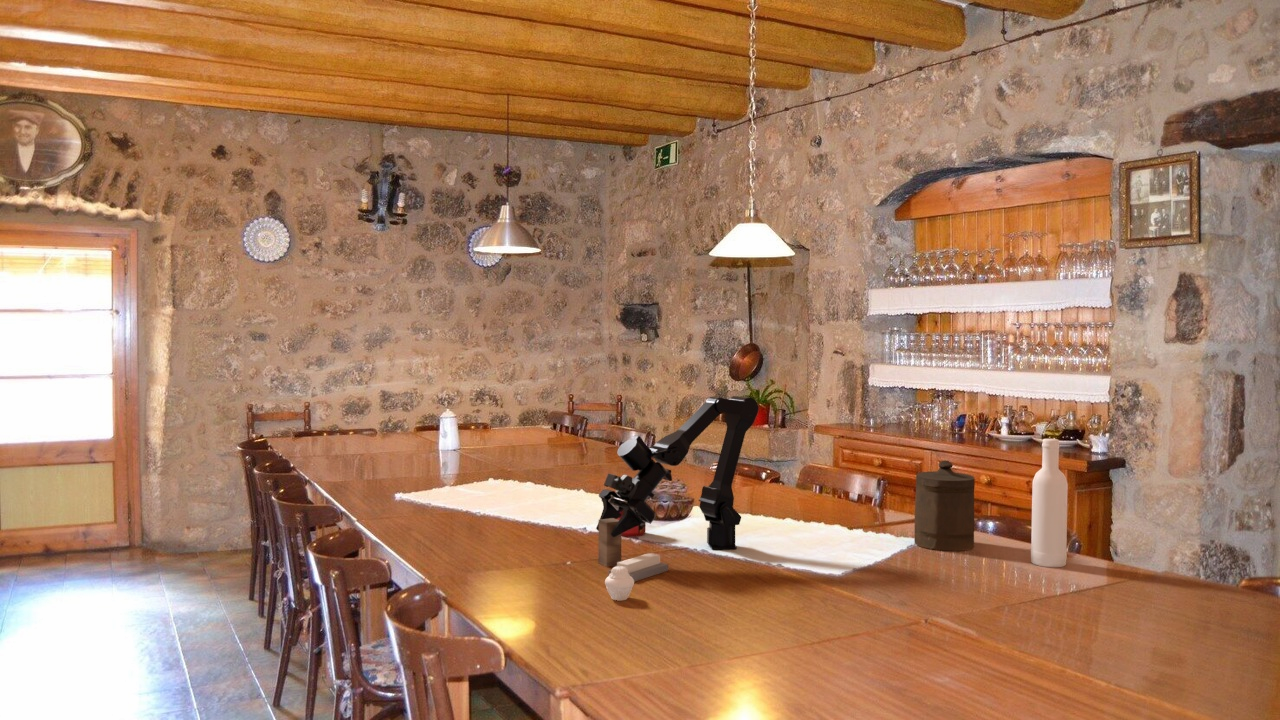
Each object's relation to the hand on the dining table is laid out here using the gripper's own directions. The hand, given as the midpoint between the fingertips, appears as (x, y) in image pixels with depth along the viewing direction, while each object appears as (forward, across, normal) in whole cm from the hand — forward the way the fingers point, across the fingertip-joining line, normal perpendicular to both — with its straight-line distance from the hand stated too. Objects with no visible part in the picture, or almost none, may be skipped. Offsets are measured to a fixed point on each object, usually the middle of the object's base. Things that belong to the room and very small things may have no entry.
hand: (604, 532), depth 228 cm
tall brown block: (+4, 0, +6) cm, 8 cm away
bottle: (-60, +53, +71) cm, 107 cm away
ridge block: (+3, +11, +7) cm, 14 cm away
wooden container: (-55, +27, +66) cm, 90 cm away
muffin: (+13, +26, -2) cm, 29 cm away
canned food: (-10, -25, +21) cm, 34 cm away
